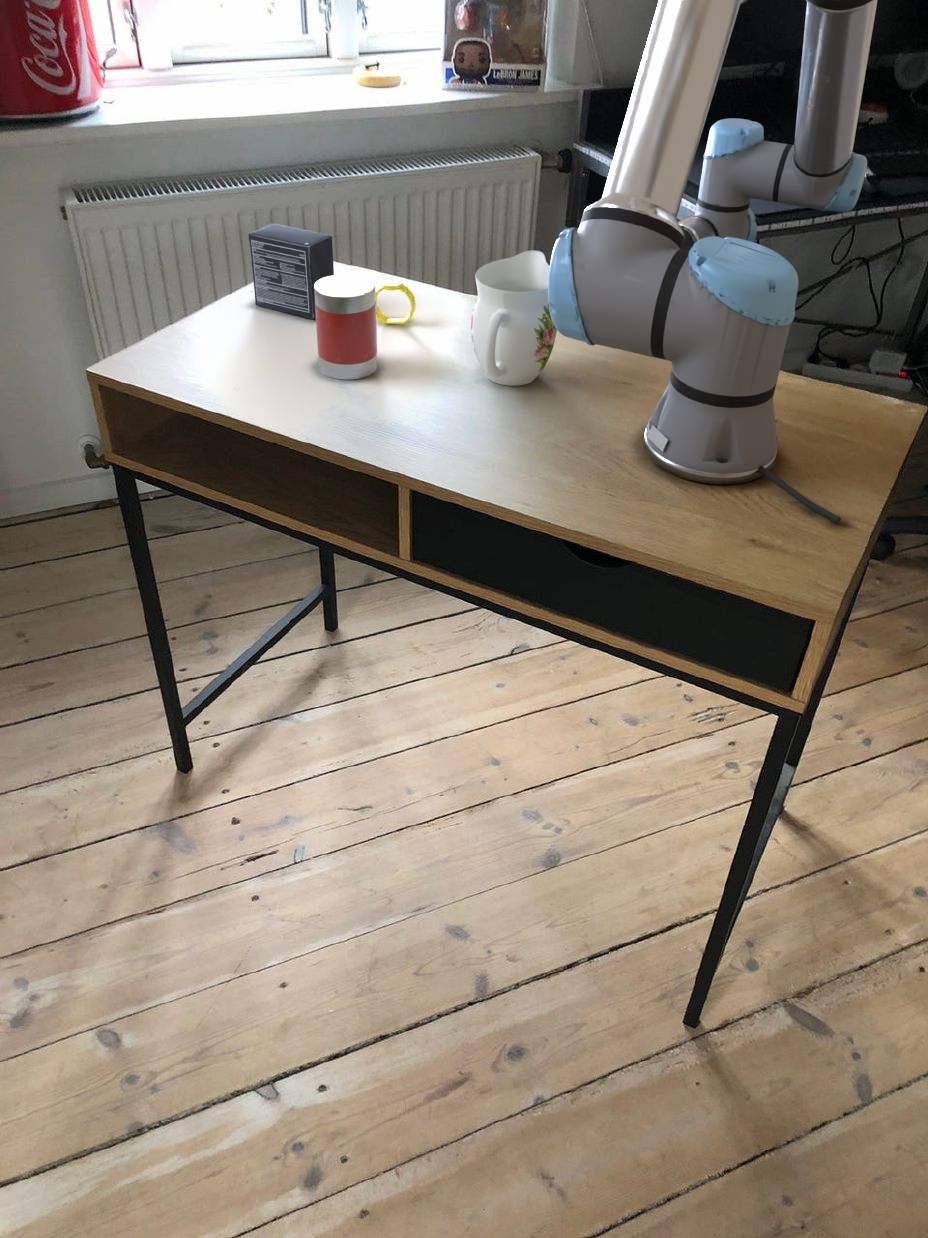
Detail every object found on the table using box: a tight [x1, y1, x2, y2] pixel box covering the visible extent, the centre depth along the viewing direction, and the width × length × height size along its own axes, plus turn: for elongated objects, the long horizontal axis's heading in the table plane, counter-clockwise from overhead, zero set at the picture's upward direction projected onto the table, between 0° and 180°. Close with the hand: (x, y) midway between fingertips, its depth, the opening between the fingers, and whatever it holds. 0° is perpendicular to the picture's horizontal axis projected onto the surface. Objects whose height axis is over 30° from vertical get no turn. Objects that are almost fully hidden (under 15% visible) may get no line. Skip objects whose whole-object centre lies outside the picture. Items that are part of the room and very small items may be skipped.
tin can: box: [314, 274, 378, 381], centre depth 132 cm, size 8×8×11 cm
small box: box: [247, 223, 335, 320], centre depth 148 cm, size 11×6×10 cm, turn 62°
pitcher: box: [470, 249, 558, 387], centre depth 130 cm, size 11×18×14 cm, turn 160°
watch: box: [375, 278, 417, 325], centre depth 145 cm, size 6×3×6 cm, turn 81°
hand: (567, 291), depth 134 cm, fingers closed
